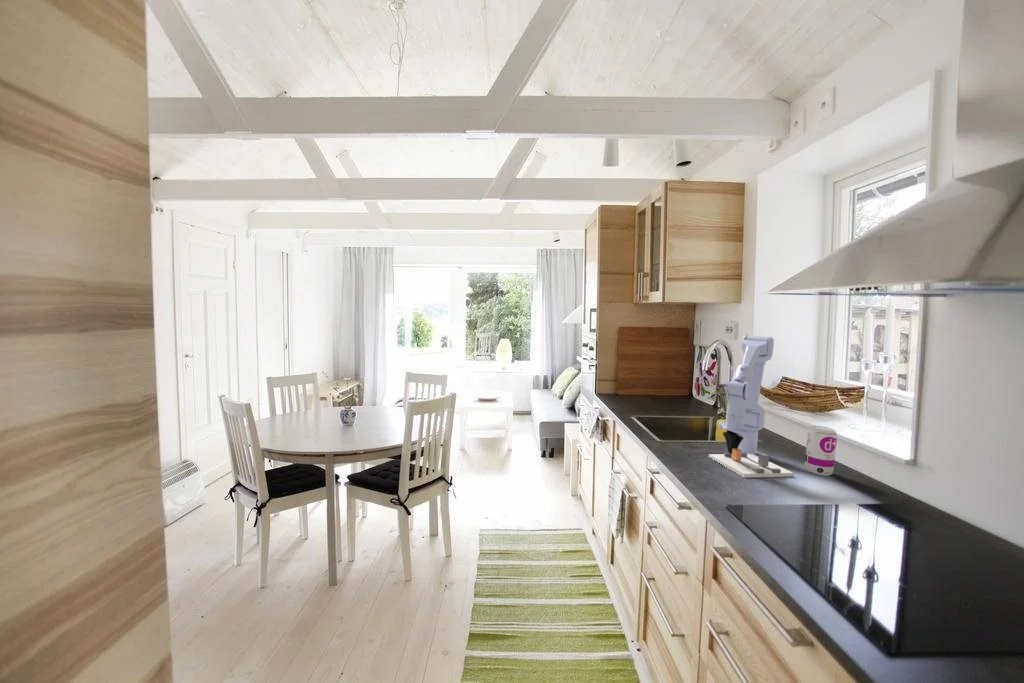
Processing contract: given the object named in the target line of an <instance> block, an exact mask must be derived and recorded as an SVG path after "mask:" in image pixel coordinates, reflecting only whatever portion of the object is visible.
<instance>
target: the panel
mask: <svg viewBox="0 0 1024 683" xmlns="http://www.w3.org/2000/svg"><path fill="white" fill-rule="evenodd" d="M708 457H710V458H712V459H713V460H712V459H711V460H712V461H714V460H715V461H717V462H718V463H717V462H716V463H717V464H719V463H720V464H719V465H721V464H722V465H724V466H725V468H726V467H727V468H726V469H728V470H730V471H731V470H732V472H733V471H734V472H733V473H735V472H736V473H735V474H737V475H738V476H740V475H741V476H740V477H742V478H776V477H778V478H782V477H787V478H788V477H793V476H794V472H793V471H790V470H788V469H786V468H785V467H782V466H780V465H778V464H775V463H773V462H771V461H769V463H768V466H761V465H759V464H758V458H759V455H758V454H747V453H745V452H743V453H742V456H741V461H735V460H734V459H732V458H731V457H732V454H730V453H728V452H724V453H723V454H722V453H721V454H720V453H719V454H717V453H715V454H714V453H713V454H711V453H710V454H708ZM710 458H709V459H710ZM715 461H714V462H715ZM722 465H721V466H722ZM724 466H723V467H724Z"/></svg>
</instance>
